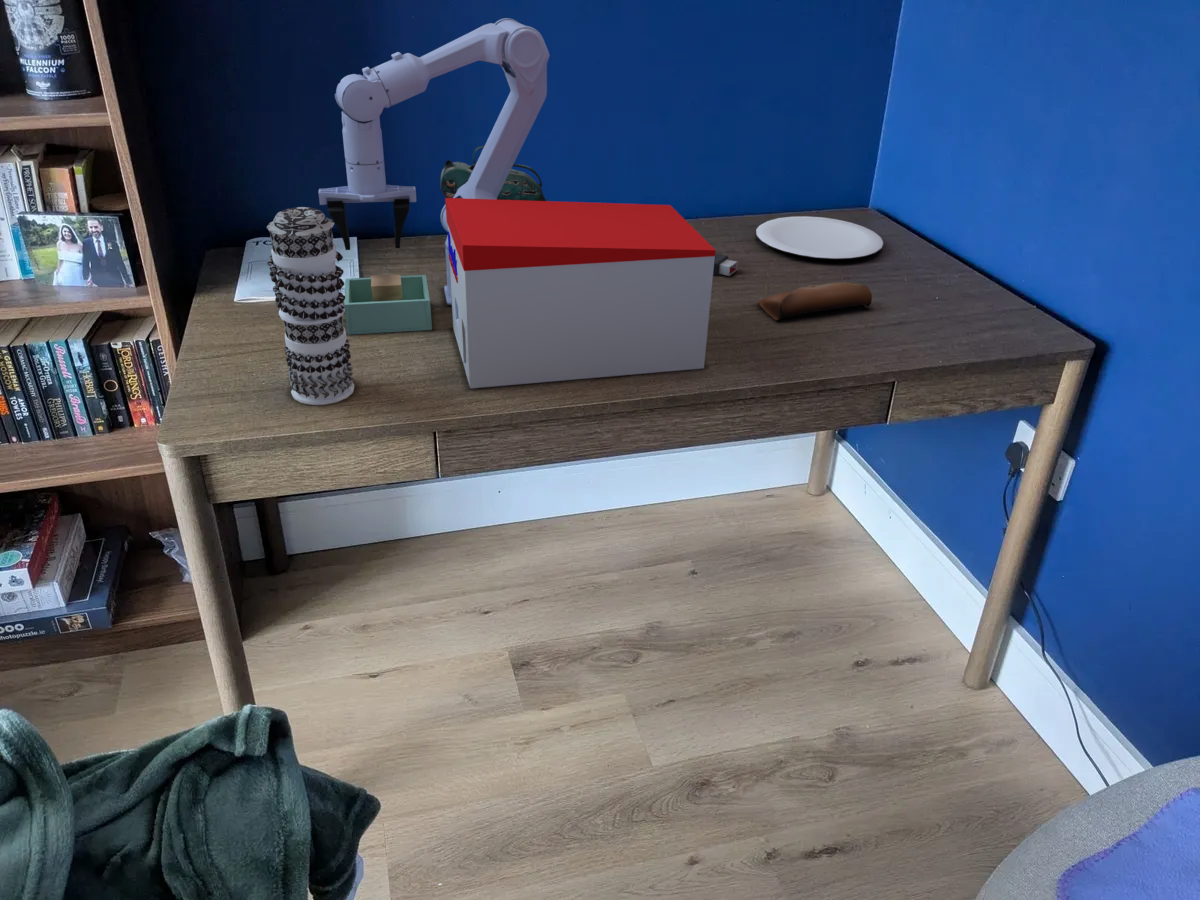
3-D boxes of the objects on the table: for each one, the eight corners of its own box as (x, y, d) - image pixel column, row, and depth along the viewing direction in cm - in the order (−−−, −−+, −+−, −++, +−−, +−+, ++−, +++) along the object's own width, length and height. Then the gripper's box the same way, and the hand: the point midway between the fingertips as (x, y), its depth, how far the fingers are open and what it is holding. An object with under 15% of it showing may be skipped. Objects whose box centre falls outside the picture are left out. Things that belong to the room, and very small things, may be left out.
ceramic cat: (445, 261, 176) (439, 151, 166) (442, 249, 182) (435, 141, 171) (551, 255, 180) (551, 147, 170) (544, 243, 186) (544, 138, 175)
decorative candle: (302, 372, 136) (276, 199, 123) (366, 377, 136) (346, 204, 123) (277, 403, 128) (247, 222, 115) (344, 408, 128) (321, 226, 115)
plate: (880, 230, 199) (882, 222, 198) (883, 271, 178) (885, 263, 177) (760, 218, 203) (761, 210, 202) (749, 257, 182) (750, 249, 182)
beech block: (403, 309, 155) (400, 274, 152) (404, 320, 152) (401, 284, 149) (374, 310, 155) (371, 275, 151) (374, 322, 151) (371, 286, 148)
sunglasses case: (842, 288, 169) (859, 264, 163) (859, 320, 166) (877, 297, 160) (754, 301, 162) (768, 276, 157) (770, 335, 160) (785, 311, 154)
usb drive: (680, 257, 182) (681, 243, 180) (738, 270, 176) (739, 256, 175) (667, 264, 178) (668, 250, 176) (726, 278, 173) (727, 264, 171)
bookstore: (450, 328, 151) (443, 197, 140) (662, 313, 158) (671, 188, 147) (467, 389, 133) (460, 245, 123) (704, 368, 141) (717, 231, 130)
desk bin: (428, 303, 159) (426, 274, 157) (432, 329, 150) (429, 300, 147) (348, 307, 157) (345, 278, 154) (347, 334, 148) (344, 304, 145)
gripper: (313, 168, 140) (324, 257, 147) (414, 166, 142) (420, 253, 149) (316, 156, 145) (326, 242, 153) (412, 154, 148) (418, 239, 155)
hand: (372, 247), depth 151 cm, fingers open, 7 cm apart
